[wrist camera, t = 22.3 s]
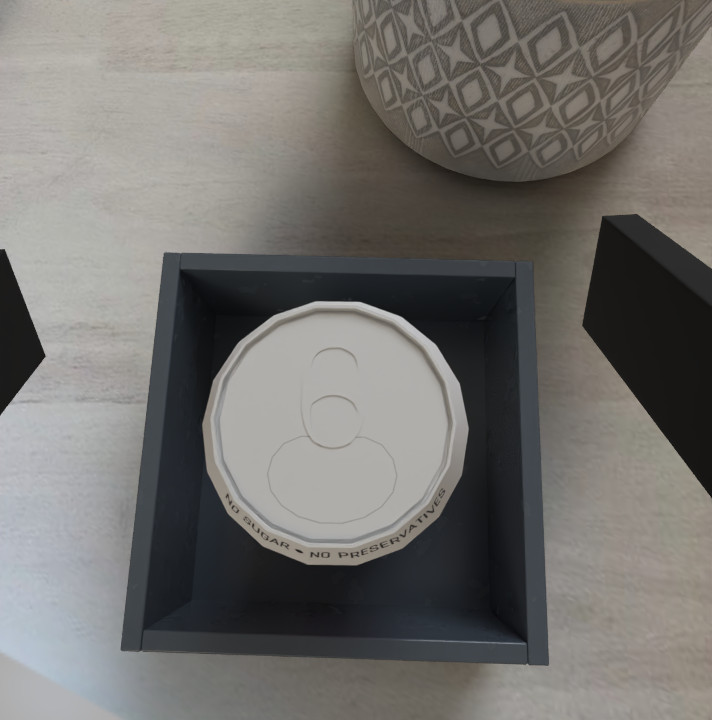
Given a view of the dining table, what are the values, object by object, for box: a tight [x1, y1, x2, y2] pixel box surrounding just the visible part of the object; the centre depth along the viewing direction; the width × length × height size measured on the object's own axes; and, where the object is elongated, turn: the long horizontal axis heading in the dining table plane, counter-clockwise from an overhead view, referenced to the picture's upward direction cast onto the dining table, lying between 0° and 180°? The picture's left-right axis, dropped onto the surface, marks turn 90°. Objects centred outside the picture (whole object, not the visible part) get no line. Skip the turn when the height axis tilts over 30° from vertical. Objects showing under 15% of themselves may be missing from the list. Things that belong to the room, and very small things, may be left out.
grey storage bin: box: [121, 253, 549, 666], centre depth 28 cm, size 17×17×8 cm
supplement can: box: [202, 301, 469, 565], centre depth 24 cm, size 8×8×15 cm
